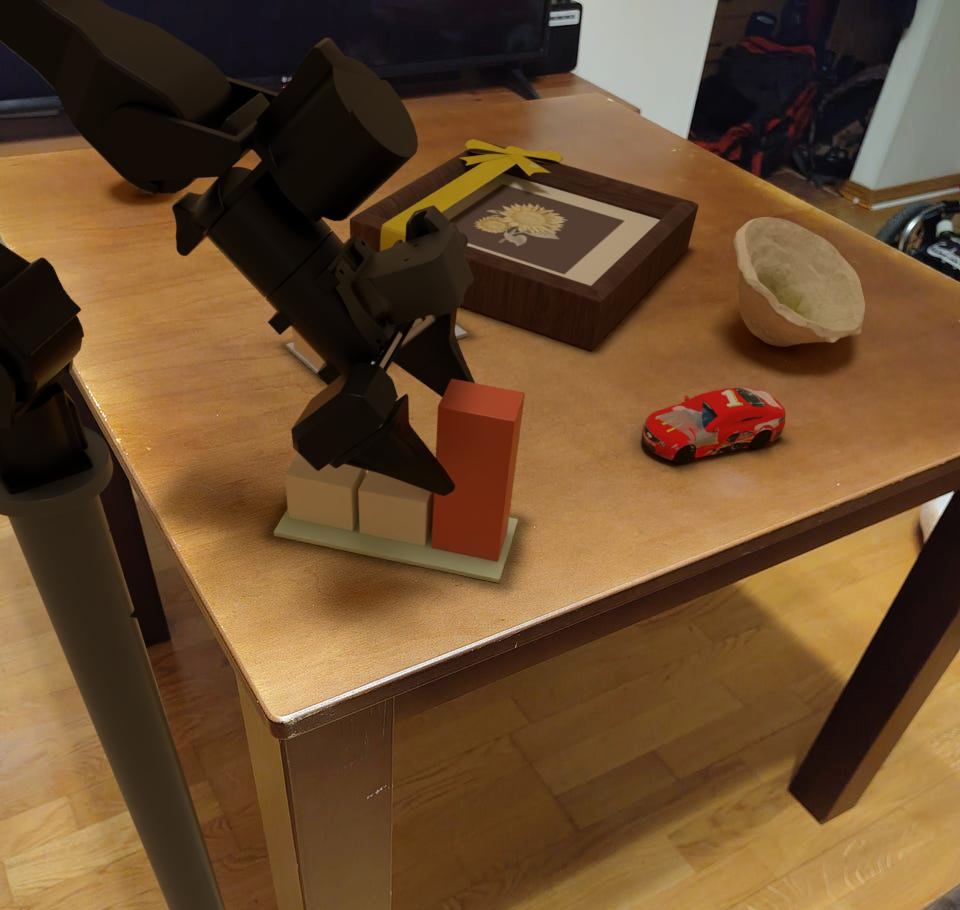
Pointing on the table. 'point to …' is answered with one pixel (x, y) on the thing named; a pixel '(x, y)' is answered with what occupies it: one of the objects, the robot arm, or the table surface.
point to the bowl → (795, 285)
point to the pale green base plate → (373, 519)
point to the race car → (714, 424)
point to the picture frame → (543, 237)
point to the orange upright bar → (476, 467)
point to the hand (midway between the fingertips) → (466, 451)
